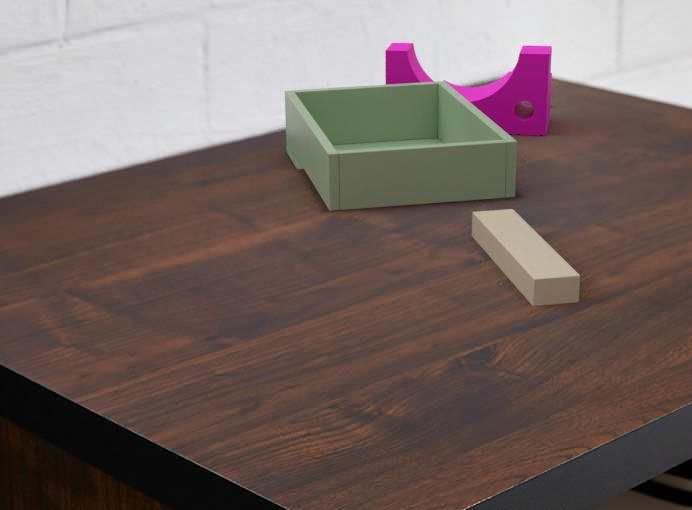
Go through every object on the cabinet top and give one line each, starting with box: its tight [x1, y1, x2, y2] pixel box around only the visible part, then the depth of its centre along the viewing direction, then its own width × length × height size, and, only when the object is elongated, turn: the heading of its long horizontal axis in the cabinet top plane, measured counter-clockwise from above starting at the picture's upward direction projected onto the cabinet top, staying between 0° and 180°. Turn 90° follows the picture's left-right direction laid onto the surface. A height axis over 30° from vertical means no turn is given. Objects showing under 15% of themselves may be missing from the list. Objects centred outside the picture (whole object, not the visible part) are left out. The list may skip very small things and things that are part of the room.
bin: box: [284, 80, 518, 212], centre depth 115 cm, size 15×22×6 cm
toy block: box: [385, 42, 553, 137], centre depth 131 cm, size 15×6×8 cm, turn 78°
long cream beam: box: [471, 208, 581, 307], centre depth 93 cm, size 14×3×3 cm, turn 10°
